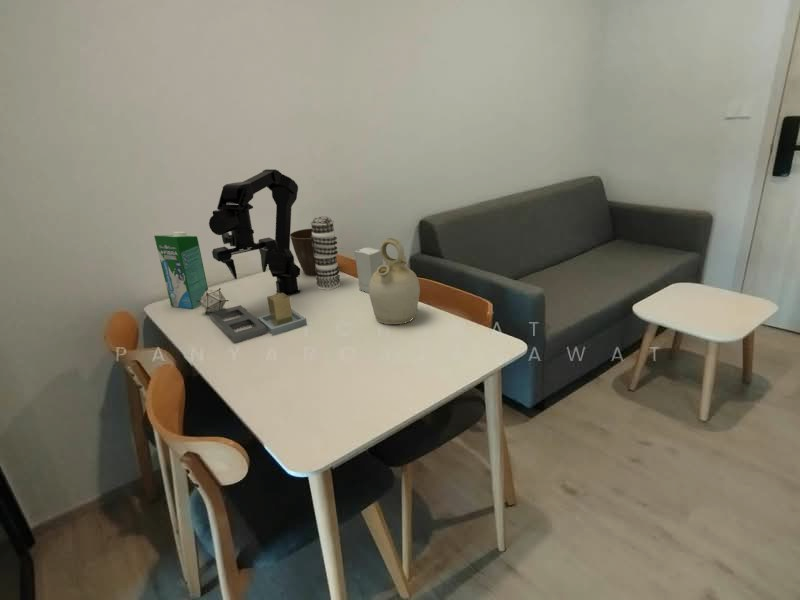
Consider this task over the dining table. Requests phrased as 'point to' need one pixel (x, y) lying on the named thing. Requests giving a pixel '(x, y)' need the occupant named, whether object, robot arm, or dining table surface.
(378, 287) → the jug
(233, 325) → the grey flat frame
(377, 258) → the skincare box
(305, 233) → the plant pot
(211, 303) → the game die
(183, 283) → the milk carton
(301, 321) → the tray
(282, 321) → the tan rectangular block
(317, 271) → the patterned tower model
